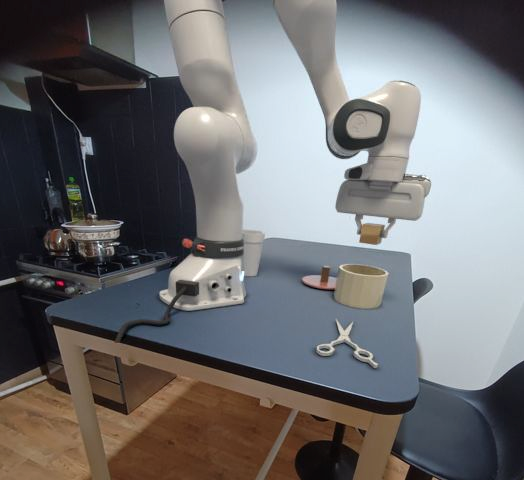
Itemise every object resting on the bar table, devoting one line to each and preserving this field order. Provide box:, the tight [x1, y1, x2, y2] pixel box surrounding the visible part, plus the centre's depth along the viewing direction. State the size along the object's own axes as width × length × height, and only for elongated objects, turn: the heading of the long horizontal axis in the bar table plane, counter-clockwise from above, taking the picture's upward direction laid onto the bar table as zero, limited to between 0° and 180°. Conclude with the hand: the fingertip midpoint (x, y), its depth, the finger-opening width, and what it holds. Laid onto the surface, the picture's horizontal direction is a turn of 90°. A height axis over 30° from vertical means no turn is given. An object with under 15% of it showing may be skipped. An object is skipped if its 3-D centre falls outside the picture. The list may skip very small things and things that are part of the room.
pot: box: [333, 263, 390, 310], centre depth 85 cm, size 13×13×8 cm
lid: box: [301, 265, 337, 290], centre depth 98 cm, size 14×14×6 cm
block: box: [358, 222, 386, 246], centre depth 79 cm, size 4×4×4 cm
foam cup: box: [242, 229, 266, 277], centre depth 101 cm, size 10×9×13 cm
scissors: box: [315, 318, 379, 369], centre depth 64 cm, size 11×1×20 cm
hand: (371, 236), depth 79 cm, fingers closed on block, 4 cm apart
